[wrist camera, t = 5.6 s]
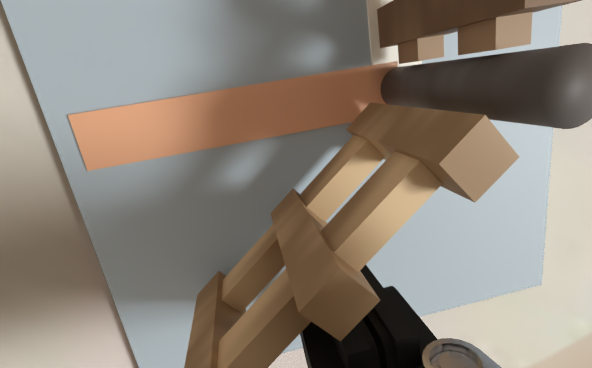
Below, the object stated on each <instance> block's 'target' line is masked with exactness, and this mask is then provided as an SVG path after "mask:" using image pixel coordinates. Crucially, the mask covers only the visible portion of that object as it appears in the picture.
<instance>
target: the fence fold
mask: <svg viewBox="0 0 592 368" xmlns="http://www.w3.org/2000/svg"><path fill="white" fill-rule="evenodd" d="M346 130H347V131H348V132H349V133H350V134H351V135H352V137H351V138H350V140H349V141H348V142H347V143H346V144H345V145H344V146H343V147H342V148H341V150H340V151H339V152H338V153H337V154H336V155H335V156H334V157H333V158H332V160H331V161H330V162H329V163H328V164H327V165H326V166H325V167H324V168H323V169H322V171H321V172H320V173H319V174H318V175H317V176H316V177H315V178H314V179H313V181H312V182H311V183H310V184H309V185H308V186H307V187H306V188H305V189H304V190H303V192H302V193H301V194H300V193H298V192H297V191H296V190H295V189H294V188H293V189H292V190H291V191H290V192H289V193H288V194H287V195H286V197H285V198H284V199H283V200H282V201H281V202H280V203H279V204H278V205H277V207H276V208H275V209H274V210H273V211H272V212H271V213H270V214H271V217H272V221H273V225H272V226H271V227H270V228H269V229H268V230H267V231H266V233H265V234H264V235H263V236H262V237H261V238H260V239H259V240H258V241H257V242H256V244H255V245H254V246H253V247H252V248H251V249H250V250H249V251H248V252H247V254H246V255H245V256H244V257H243V258H242V259H241V260H240V261H239V262H238V263H237V265H236V266H235V267H234V268H233V269H232V270H231V271H230V272H229V273H228V275H227V276H226V275H225V274H223V273H222V272H220V271H218V272H217V273H216V274H215V275H214V277H213V278H212V279H211V280H210V281H209V282H208V283H207V284H206V285H205V287H204V288H203V289H202V290H201V291H200V292H199V293H198V294H197V300H196V305H195V311H194V316H193V322H192V327H191V333H190V338H189V344H188V349H187V355H186V360H185V366H184V368H268V367H269V366H270V365H271V363H272V362H273V361H274V360H275V359H276V358H277V357H278V356H279V355H280V354H281V353H282V352H283V351H284V350H285V349H286V348H287V347H288V346H289V345H290V344H291V342H292V341H293V340H294V339H295V338H296V337H297V336H298V335H299V334H300V333H301V332H302V331H303V330H304V329H305V328H306V327H307V326H308V325H309V324H310V323H311V322H313V323H314V324H316V325H317V326H319V327H320V328H322V329H323V330H324V331H326V332H327V333H329V334H330V335H332V336H333V337H335V338H336V339H338V340H339V341H340V342H341V341H342V339H343V338H344V337H345V336H346V335H347V334H348V333H349V332H350V331H351V330H352V329H353V328H354V327H355V326H356V325H357V324H358V323H359V322H360V321H361V320H362V319H363V318H364V317H365V316H366V315H367V314H368V313H369V312H370V311H371V310H372V309H373V308H374V307H375V305H376V304H377V303H378V302H379V301H380V299H379V297H378V296H377V295H376V293H375V292H374V290H373V289H372V287H371V286H370V284H369V283H368V281H367V280H366V278H365V277H364V276H363V274H362V273H361V271H360V270H361V269H362V268H363V267H364V266H365V265H366V264H367V263H368V262H369V261H370V260H371V259H372V257H373V256H374V255H375V254H376V253H377V252H378V251H379V250H380V249H381V248H382V247H383V246H384V245H385V244H386V243H387V242H388V241H389V240H390V239H391V238H392V236H393V235H394V234H395V233H396V232H397V231H398V230H399V229H400V228H401V227H402V226H403V225H404V224H405V223H406V222H407V221H408V220H409V219H410V218H411V217H412V215H413V214H414V213H415V212H416V211H417V210H418V209H419V208H420V207H421V206H422V205H423V204H424V203H425V202H426V201H427V200H428V199H429V198H430V197H431V196H432V194H433V193H434V192H435V191H436V190H437V189H438V188H439V187H440V186H441V187H443V188H445V189H447V190H450V191H452V192H454V193H456V194H458V195H460V196H462V197H464V198H466V199H468V200H471V201H473V202H475V203H476V201H477V200H478V199H479V198H480V197H481V196H482V195H483V194H484V193H485V192H486V191H487V190H488V189H489V188H490V187H491V186H492V185H493V184H494V183H495V182H496V181H497V180H498V179H499V178H500V177H501V176H502V175H503V174H504V173H505V172H506V171H507V170H508V169H509V167H510V166H511V165H512V164H513V163H514V162H515V161H516V160H517V159H518V158H519V156H518V154H517V153H516V152H515V151H514V149H513V148H512V147H511V146H510V145H509V143H508V142H507V141H506V140H505V138H504V137H503V136H502V135H501V134H500V132H499V131H498V130H497V129H496V127H495V126H494V125H493V124H492V122H491V121H490V120H489V119H488V118H487V116H486V115H482V114H473V113H463V112H454V111H445V110H435V109H426V108H417V107H407V106H398V105H389V104H379V103H369V104H368V105H367V107H366V108H365V109H364V110H363V111H362V112H361V113H360V114H359V115H358V117H357V118H356V119H355V120H354V121H353V122H352V123H351V124H350V125H349V127H348V128H347V129H346ZM383 159H385V160H386V161H385V162H384V163H383V164H382V165H381V166H380V167H379V168H378V169H377V171H376V172H375V173H374V174H373V175H372V176H371V177H370V178H369V179H368V180H367V181H366V182H365V184H364V185H363V186H362V187H361V188H360V189H359V190H358V191H357V192H356V193H355V194H354V195H353V197H352V198H351V199H350V200H349V201H348V202H347V203H346V204H345V205H344V206H343V207H342V208H341V210H340V211H339V212H338V213H337V214H336V215H335V216H334V217H333V218H332V219H331V220H330V221H329V223H327V222H326V221H327V219H328V218H329V217H330V216H331V215H332V214H333V213H334V212H335V211H336V210H337V209H338V207H339V206H340V205H341V204H342V203H343V202H344V201H345V200H346V199H347V198H348V197H349V196H350V194H351V193H352V192H353V191H354V190H355V189H356V188H357V187H358V186H359V185H360V184H361V183H362V181H363V180H364V179H365V178H366V177H367V176H368V175H369V174H370V173H371V172H372V171H373V170H374V168H375V167H376V166H377V165H378V164H379V163H380V162H381V161H382V160H383ZM284 266H285V267H286V269H285V270H284V271H283V272H282V273H281V274H280V276H279V277H278V278H277V279H276V280H275V281H274V282H273V283H272V284H271V285H270V286H269V287H268V289H267V290H266V291H265V292H264V293H263V294H262V295H261V296H260V297H259V298H258V299H257V300H256V302H255V303H254V304H253V305H252V306H251V307H250V308H249V309H248V310H247V311H246V307H247V306H248V305H249V304H250V303H251V302H252V301H253V300H254V299H255V297H256V296H257V295H258V294H259V293H260V292H261V291H262V290H263V289H264V288H265V287H266V286H267V284H268V283H269V282H270V281H271V280H272V279H273V278H274V277H275V276H276V275H277V274H278V273H279V271H280V270H281V269H282V268H283V267H284Z"/></svg>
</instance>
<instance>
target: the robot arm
mask: <svg viewBox="0 0 592 368" xmlns="http://www.w3.org/2000/svg"><path fill="white" fill-rule="evenodd" d="M360 271H361V273H362V274H363V276H364V277H365V278H366V280H367V281H368V283H369V284H370V286H371V287H372V289H373V290H374V292H375V293H376V295H377V296H378V297H379V299H380V301H379V302H378V303H377V304H376V305H375V307H374V308H373V309H372V310H371V311H370V312H369V313H368V314H367V315H366V316H365V317H364V318H363V319H362V320H361V321H360V322H359V323H358V324H357V325H356V326H355V327H354V328H353V329H352V330H351V331H350V332H349V333H348V334H347V335H346V336H345V337H344V338H343V339H342V341H341V342H340V341H339V340H338V339H336V338H335V337H333V336H332V335H330V334H329V333H327V332H326V331H324V330H323V329H322V328H320V327H319V326H317V325H316V324H314V323H313V322H311V323H310V324H309V325H308V326H307V327H306V328H305V329H304V330H303V331H302V332H301V333H300V336H301V340H302V345H303V349H304V353H305V357H306V361H307V365H308V368H501V367H500V366H499V365H498V364H496V363H495V362H494V361H493V360H492V359H490V358H489V357H488V356H487V355H486V354H484V353H483V352H482V351H481V350H480V349H478V348H476V347H475V346H473V345H472V344H470V343H467V342H465V341H462V340H458V339H452V338H446V339H439V340H438V339H437V338H436V337H435V336H434V335H433V333H432V332H431V331H430V330H429V328H428V327H427V326H426V325H425V323H424V322H423V321H422V320H421V319H420V317H419V316H418V315H417V314H416V312H415V311H414V310H413V309H412V308H411V306H410V305H409V304H408V303H407V301H406V300H405V299H404V298H403V296H402V295H401V294H400V293H399V292H398V290H397V289H396V288H395V287H394V286H389V287H385V288H383V286H382V285H381V284H380V282H379V281H378V280H377V279H376V277H375V276H374V275H373V273H372V272H371V271H370V269H369V268H368V267H367V265H365V266H364V267H363V268H362V269H361V270H360Z"/></svg>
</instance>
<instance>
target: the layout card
mask: <svg viewBox="0 0 592 368" xmlns="http://www.w3.org/2000/svg"><path fill="white" fill-rule="evenodd" d="M391 1H393V0H1V3H2V5H3V8H4V10H5V13H6V16H7V18H8V21H9V24H10V26H11V29H12V32H13V34H14V37H15V40H16V42H17V45H18V48H19V50H20V53H21V56H22V58H23V61H24V64H25V66H26V69H27V72H28V74H29V77H30V80H31V82H32V85H33V88H34V90H35V93H36V96H37V98H38V101H39V104H40V106H41V109H42V111H43V114H44V117H45V119H46V122H47V125H48V127H49V130H50V133H51V135H52V138H53V141H54V143H55V146H56V149H57V151H58V154H59V157H60V159H61V162H62V165H63V167H64V170H65V173H66V175H67V178H68V181H69V183H70V186H71V189H72V191H73V194H74V197H75V199H76V202H77V205H78V207H79V210H80V212H81V215H82V218H83V220H84V223H85V226H86V228H87V231H88V234H89V236H90V239H91V242H92V244H93V247H94V250H95V252H96V255H97V258H98V260H99V263H100V266H101V268H102V271H103V274H104V276H105V279H106V282H107V284H108V287H109V290H110V292H111V295H112V298H113V300H114V303H115V306H116V308H117V311H118V313H119V316H120V319H121V321H122V324H123V327H124V329H125V332H126V335H127V337H128V340H129V343H130V345H131V348H132V351H133V353H134V356H135V359H136V361H137V364H138V367H139V368H184V366H185V360H186V355H187V349H188V344H189V338H190V333H191V327H192V322H193V316H194V311H195V305H196V300H197V294H198V293H199V292H200V291H201V290H202V289H203V288H204V287H205V285H206V284H207V283H208V282H209V281H210V280H211V279H212V278H213V277H214V275H215V274H216V273H217V272H218V271H220V272H222V273H223V274H225V275H226V276H227V275H228V273H229V272H230V271H231V270H232V269H233V268H234V267H235V266H236V265H237V263H238V262H239V261H240V260H241V259H242V258H243V257H244V256H245V255H246V254H247V252H248V251H249V250H250V249H251V248H252V247H253V246H254V245H255V244H256V242H257V241H258V240H259V239H260V238H261V237H262V236H263V235H264V234H265V233H266V231H267V230H268V229H269V228H270V227H271V226H272V225H273V221H272V217H271V214H270V213H271V212H272V211H273V210H274V209H275V208H276V207H277V205H278V204H279V203H280V202H281V201H282V200H283V199H284V198H285V197H286V195H287V194H288V193H289V192H290V191H291V190H292V189H293V188H294V189H295V190H296V191H297V192H298V193H300V194H301V193H302V192H303V190H304V189H305V188H306V187H307V186H308V185H309V184H310V183H311V182H312V181H313V179H314V178H315V177H316V176H317V175H318V174H319V173H320V172H321V171H322V169H323V168H324V167H325V166H326V165H327V164H328V163H329V162H330V161H331V160H332V158H333V157H334V156H335V155H336V154H337V153H338V152H339V151H340V150H341V148H342V147H343V146H344V145H345V144H346V143H347V142H348V141H349V140H350V138H351V137H352V135H351V134H350V133H349V132H348V131H347V130H346V129H347V128H348V127H349V125H350V124H351V123H352V122H353V121H354V120H355V119H356V118H357V117H358V115H359V114H360V113H361V112H362V111H363V110H364V109H365V108H366V107H367V105H368V104H369V103H379V104H386V103H385V102H384V100H383V98H382V96H381V91H380V88H381V82H382V80H383V78H384V76H385V75H386V74H387V73H388V72H389V71H390V70H391V69H393V68H396V67H402V66H410V65H418V64H425V63H433V62H441V61H449V60H457V59H464V58H472V57H480V56H488V55H495V54H503V53H511V52H519V51H526V50H534V49H542V48H550V47H558V46H559V43H560V29H561V15H562V5H561V6H557V7H553V8H549V9H545V10H541V11H538V12H534V13H532V30H531V44H528V45H522V46H516V47H510V48H504V49H498V50H492V51H485V52H478V53H471V54H464V55H458V32H454V33H451V34H447V35H444V57H441V58H435V59H429V60H423V61H416V62H410V63H403V64H399V57H398V45H397V46H391V47H384V48H380V42H379V28H378V15H377V9H379V8H380V7H382V6H384V5H386V4H388V3H389V2H391ZM490 121H491V122H492V124H493V125H494V126H495V127H496V129H497V130H498V131H499V132H500V134H501V135H502V136H503V137H504V138H505V140H506V141H507V142H508V143H509V145H510V146H511V147H512V148H513V149H514V151H515V152H516V153H517V154H518V156H519V158H518V159H517V160H516V161H515V162H514V163H513V164H512V165H511V166H510V167H509V169H508V170H507V171H506V172H505V173H504V174H503V175H502V176H501V177H500V178H499V179H498V180H497V181H496V182H495V183H494V184H493V185H492V186H491V187H490V188H489V189H488V190H487V191H486V192H485V193H484V194H483V195H482V196H481V197H480V198H479V199H478V200H477V201H476V203H475V202H473V201H471V200H468V199H466V198H464V197H462V196H460V195H458V194H456V193H454V192H452V191H450V190H447V189H445V188H443V187H441V186H440V187H439V188H438V189H437V190H436V191H435V192H434V193H433V194H432V196H431V197H430V198H429V199H428V200H427V201H426V202H425V203H424V204H423V205H422V206H421V207H420V208H419V209H418V210H417V211H416V212H415V213H414V214H413V215H412V217H411V218H410V219H409V220H408V221H407V222H406V223H405V224H404V225H403V226H402V227H401V228H400V229H399V230H398V231H397V232H396V233H395V234H394V235H393V236H392V238H391V239H390V240H389V241H388V242H387V243H386V244H385V245H384V246H383V247H382V248H381V249H380V250H379V251H378V252H377V253H376V254H375V255H374V256H373V257H372V259H371V260H370V261H369V262H368V263H367V264H366V265H367V267H368V268H369V269H370V271H371V272H372V273H373V275H374V276H375V277H376V279H377V280H378V281H379V282H380V284H381V285H382V286H383V288H385V287H389V286H394V287H395V288H396V289H397V290H398V292H399V293H400V294H401V295H402V296H403V298H404V299H405V300H406V301H407V303H408V304H409V305H410V306H411V308H412V309H413V310H414V311H415V312H416V314H417V315H418V316H419V317H421V316H425V315H429V314H433V313H436V312H440V311H444V310H448V309H451V308H455V307H459V306H463V305H467V304H470V303H474V302H478V301H482V300H486V299H489V298H493V297H497V296H501V295H504V294H508V293H512V292H516V291H520V290H523V289H527V288H531V287H535V286H539V285H542V274H543V260H544V247H545V233H546V219H547V206H548V192H549V179H550V165H551V151H552V138H553V127H545V126H537V125H529V124H521V123H513V122H505V121H497V120H490ZM385 161H386V160H385V159H383V160H382V161H381V162H380V163H379V164H378V165H377V166H376V167H375V168H374V170H373V171H372V172H371V173H370V174H369V175H368V176H367V177H366V178H365V179H364V180H363V181H362V183H361V184H360V185H359V186H358V187H357V188H356V189H355V190H354V191H353V192H352V193H351V194H350V196H349V197H348V198H347V199H346V200H345V201H344V202H343V203H342V204H341V205H340V206H339V207H338V209H337V210H336V211H335V212H334V213H333V214H332V215H331V216H330V217H329V218H328V219H327V221H326V222H327V223H329V221H330V220H331V219H332V218H333V217H334V216H335V215H336V214H337V213H338V212H339V211H340V210H341V208H342V207H343V206H344V205H345V204H346V203H347V202H348V201H349V200H350V199H351V198H352V197H353V195H354V194H355V193H356V192H357V191H358V190H359V189H360V188H361V187H362V186H363V185H364V184H365V182H366V181H367V180H368V179H369V178H370V177H371V176H372V175H373V174H374V173H375V172H376V171H377V169H378V168H379V167H380V166H381V165H382V164H383V163H384V162H385ZM285 269H286V267H285V266H284V267H283V268H282V269H281V270H280V271H279V273H278V274H277V275H276V276H275V277H274V278H273V279H272V280H271V281H270V282H269V283H268V284H267V286H266V287H265V288H264V289H263V290H262V291H261V292H260V293H259V294H258V295H257V296H256V297H255V299H254V300H253V301H252V302H251V303H250V304H249V305H248V306H247V307H246V311H247V310H248V309H249V308H250V307H251V306H252V305H253V304H254V303H255V302H256V300H257V299H258V298H259V297H260V296H261V295H262V294H263V293H264V292H265V291H266V290H267V289H268V287H269V286H270V285H271V284H272V283H273V282H274V281H275V280H276V279H277V278H278V277H279V276H280V274H281V273H282V272H283V271H284V270H285ZM300 348H303V345H302V340H301V336H300V334H299V335H298V336H297V337H296V338H295V339H294V340H293V341H292V342H291V344H290V345H289V346H288V347H287V348H286V349H285V350H284V351H283V352H282V353H285V352H289V351H292V350H296V349H300Z"/></svg>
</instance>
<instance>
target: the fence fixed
mask: <svg viewBox="0 0 592 368" xmlns="http://www.w3.org/2000/svg"><path fill="white" fill-rule="evenodd" d="M577 1H581V0H393V1H391V2H389V3H388V4H386V5H384V6H382V7H380V8H379V9H377V15H378V28H379V42H380V48H384V47H391V46H397V45H398V57H399V64H403V63H410V62H416V61H423V60H429V59H435V58H441V57H444V35H447V34H451V33H454V32H458V55H464V54H471V53H478V52H485V51H492V50H498V49H504V48H510V47H516V46H522V45H528V44H531V30H532V13H534V12H538V11H541V10H545V9H549V8H553V7H557V6H561V5H565V4H569V3H573V2H577ZM380 91H381V96H382V98H383V100H384V102H385V103H386V104H389V105H398V106H407V107H417V108H426V109H435V110H445V111H454V112H463V113H473V114H482V115H486V116H487V118H488V119H489V120H497V121H505V122H513V123H521V124H529V125H537V126H545V127H554V128H562V129H570V128H575V127H578V126H580V125H582V124H584V123H586V122H587V121H589V120H590V119H591V118H592V44H589V43H581V44H573V45H565V46H558V47H550V48H542V49H534V50H526V51H519V52H511V53H503V54H495V55H488V56H480V57H472V58H464V59H457V60H449V61H441V62H433V63H425V64H418V65H410V66H402V67H396V68H393V69H391V70H390V71H389V72H388V73H387V74H386V75H385V76H384V78H383V80H382V82H381V88H380Z"/></svg>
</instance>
